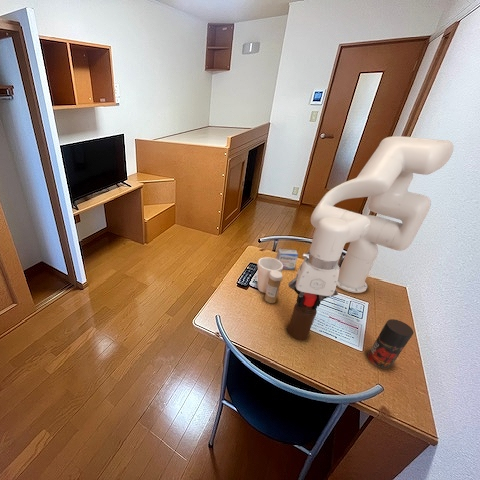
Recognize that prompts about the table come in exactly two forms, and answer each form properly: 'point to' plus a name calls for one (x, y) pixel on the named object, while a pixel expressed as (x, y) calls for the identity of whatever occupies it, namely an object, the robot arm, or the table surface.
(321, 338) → the table surface
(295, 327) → the sauce bottle
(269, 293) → the sprinkles bottle
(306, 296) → the cap
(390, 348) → the deodorant
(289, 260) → the medicine box
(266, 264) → the foam cup
